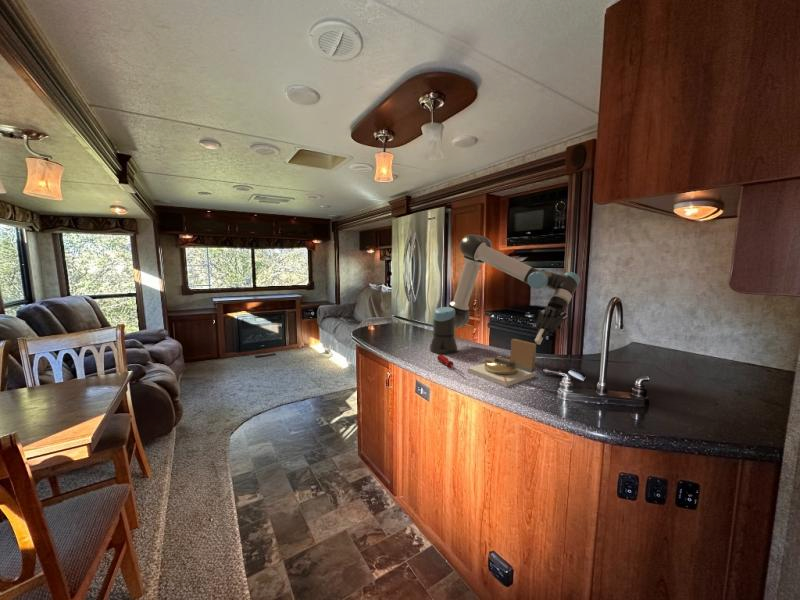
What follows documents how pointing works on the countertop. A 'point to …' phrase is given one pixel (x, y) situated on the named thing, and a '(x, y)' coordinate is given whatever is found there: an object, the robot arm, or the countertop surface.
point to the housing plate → (500, 379)
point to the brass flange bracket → (514, 359)
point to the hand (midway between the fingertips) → (537, 342)
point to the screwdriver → (447, 362)
